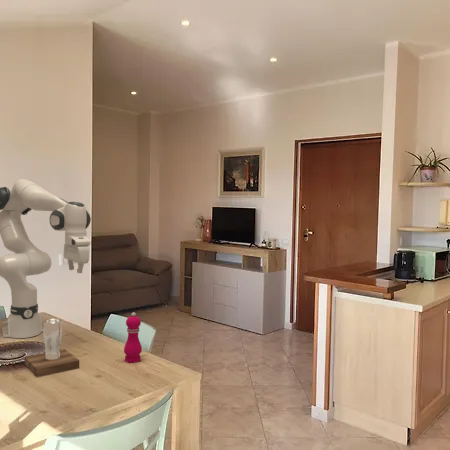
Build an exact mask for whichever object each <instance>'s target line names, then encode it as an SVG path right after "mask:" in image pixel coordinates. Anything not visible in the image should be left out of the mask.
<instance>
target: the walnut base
mask: <svg viewBox="0 0 450 450" xmlns="http://www.w3.org/2000/svg"><path fill="white" fill-rule="evenodd" d="M60 355H61V358H60V359H58V360H54V361H47V360H45V359H44V358H45V352H42V353H37V354H31V355H25V356H24V365H25V366H26V367H27V368H28V369H29V371H30V372H32V374H33V375H34V376H35V377H36V378H39V377H44V376H49V375H53V374H57V373H58V374H59V373H62V372H67V371H72V370H76V369H80V359H78V358H77V357H75V356H74V355H73V354H72V353H70V352H69V350H66V349H64V348H63V349H60Z"/></svg>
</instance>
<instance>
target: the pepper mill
mask: <svg viewBox="0 0 450 450" xmlns="http://www.w3.org/2000/svg"><path fill="white" fill-rule="evenodd" d="M141 323H142V320H141V318H140V317H139V316H136V312H132V313H131V316H128V318H127V319H126V321H125V326H126V327H127V329H126V331H127V339H126V342H125V345H124V347H123V353H124V354H125V356H124V361H125V362H126V363H130V364H135V363H134V362H136V363H139V362H140V361H141V355H140V354H141V353H142V352H143V348H142V344H141V341H140V339H139V332H140V326H141ZM138 361H139V362H138Z"/></svg>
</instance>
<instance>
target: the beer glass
mask: <svg viewBox="0 0 450 450" xmlns="http://www.w3.org/2000/svg"><path fill="white" fill-rule="evenodd" d="M42 328H43V332H42V335H43V343H44V348H45V352H44V353H45V358H44V359H45V360H47V361H54V360H58V359H60V358H61V355H60V350H61V349H60V348H61V343H62V337H63V321H62V319H60V318H47V319H45V320H43V326H42Z"/></svg>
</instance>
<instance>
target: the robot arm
mask: <svg viewBox="0 0 450 450" xmlns="http://www.w3.org/2000/svg"><path fill="white" fill-rule="evenodd" d="M32 210H34V211H41V212H44V211H45V212H51V213H50V215H49V224H50V226H51V228H52V229H53V230H55V231H58V232H63V231H65V232H64V245H63V259H65V260H67V263H68V264H67V265H68V269H69V271H73V270H75V265H74V263H77V269H76V273H77V274H82V273H83V269H84V265H85V264H89V262H90V246H91V240H90V239H89V238H88V235H87V229H88V228H89V226H90V224H91V221H92V218H91V215H90V213H89V211H88V209H86V205H85V204H84V203H82V202H80V201H79V202H78V201H67V200H65V199H64V198H63V199H62V198H61V197H58V196H57V195H55V194H53V193H51V192H50V191H47V190H46V189H44V188H43V187H41V186H40V185H39V184H37V183H35V182H33V181H31V180H29V179H27V178H20V179H18V180H16V182H14V184H13V186H12V187H7V186H2V187H1V186H0V237H1V239H2V242H3V246H4V247H5V249H7V250H8V251H10V252H13V253H10V254H4V255H1V256H0V278H2V279H4V281H6V282H7V284H8V285H9V287H10V288H9V289H10V291H11V305H10V308H9V309H10V310H9V311H10V313H9V315H8V317H7V318H6V319H5V320H3V327H2V328H1V332H2V337H3V338H11V339H12V338H13V339H25V338H32V337H35V336H38V335H40V334H41V333H43V326H42V325H43V324H42V315H41V314H40V313H39V303H38V290H37V287H36V286H35V285H34V284H32V283H30V282H28V281H27V277H28V276H35V275H41V274H44V273H46V272H48V271H49V270H50V269H51V267H52V258H51V257H50V255H49V254H48V253H47V252H46V251H43V250H41V249H40V248H38V247H37V246H35V245H34V243H33V242H32V241H31V240H30V238H29V235H28V233H27V231H26V229H25V227H24V223H23V221H22V217H21V216H25V215H28V213H29V212H31V211H32Z"/></svg>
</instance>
